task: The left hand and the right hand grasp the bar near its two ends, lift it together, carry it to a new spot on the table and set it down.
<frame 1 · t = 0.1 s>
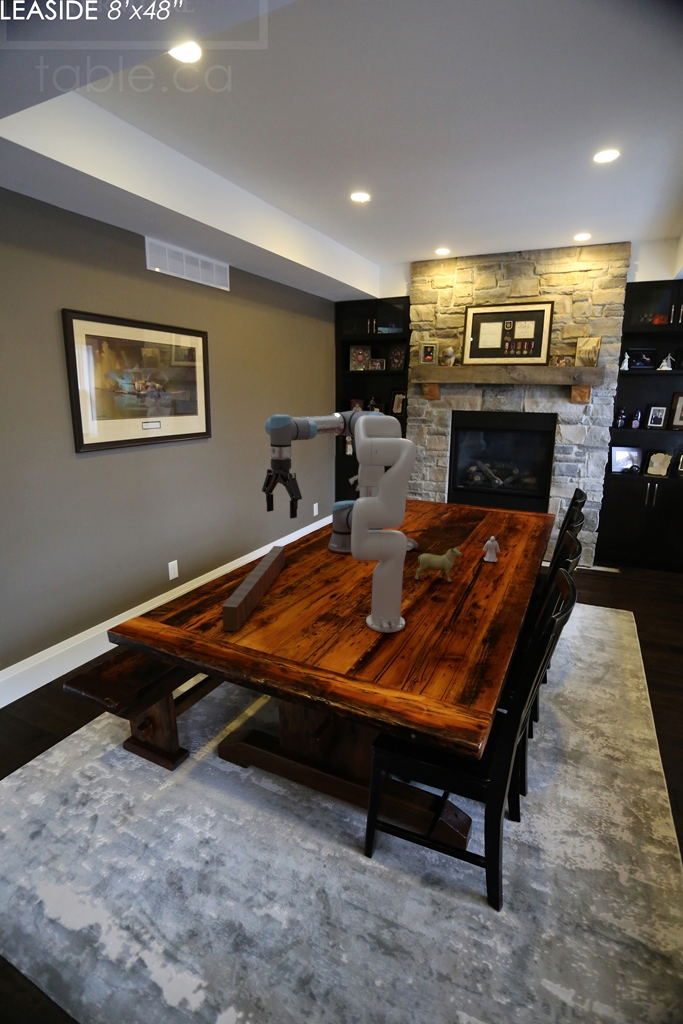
left hand: (281, 514, 187), 28 cm above the table, tool pointing down, fingers open, 13 cm apart
right hand: (370, 500, 199), 31 cm above the table, tool pointing down, fingers open, 9 cm apart
toy: (437, 580, 201), on the table
figurine: (490, 560, 225), on the table
bar: (258, 592, 185), on the table
seashell: (409, 549, 238), on the table
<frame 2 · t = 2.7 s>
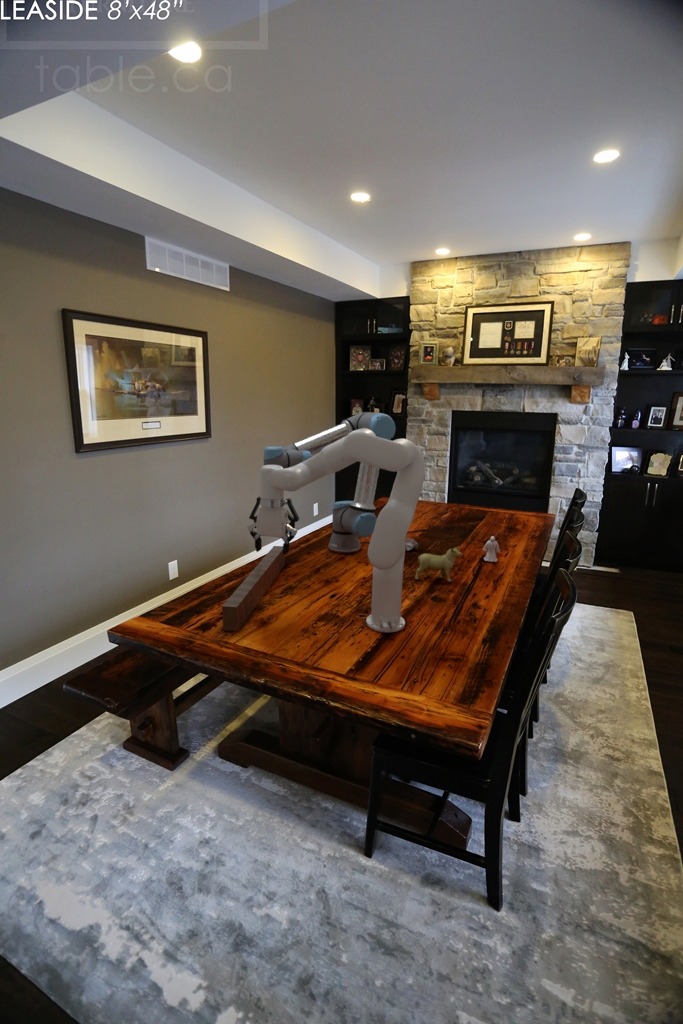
left hand: (274, 536, 204), 15 cm above the table, tool pointing down, fingers open, 13 cm apart
right hand: (272, 552, 169), 20 cm above the table, tool pointing down, fingers open, 9 cm apart
nothing on the table moved.
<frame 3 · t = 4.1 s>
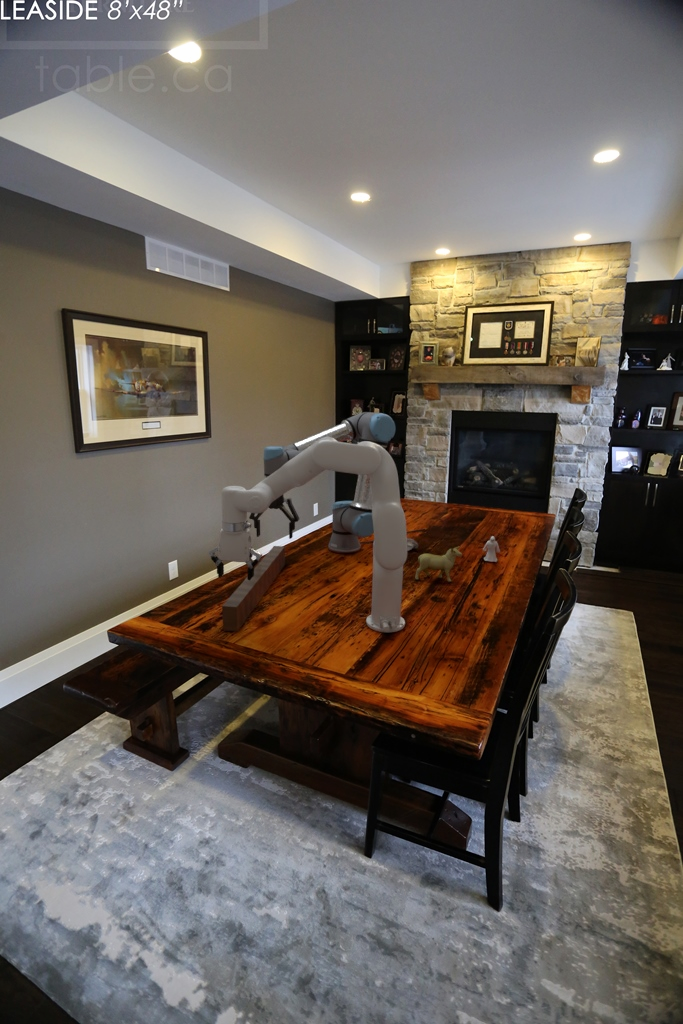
left hand: (274, 536, 204), 15 cm above the table, tool pointing down, fingers open, 13 cm apart
right hand: (235, 577, 160), 15 cm above the table, tool pointing down, fingers open, 9 cm apart
nothing on the table moved.
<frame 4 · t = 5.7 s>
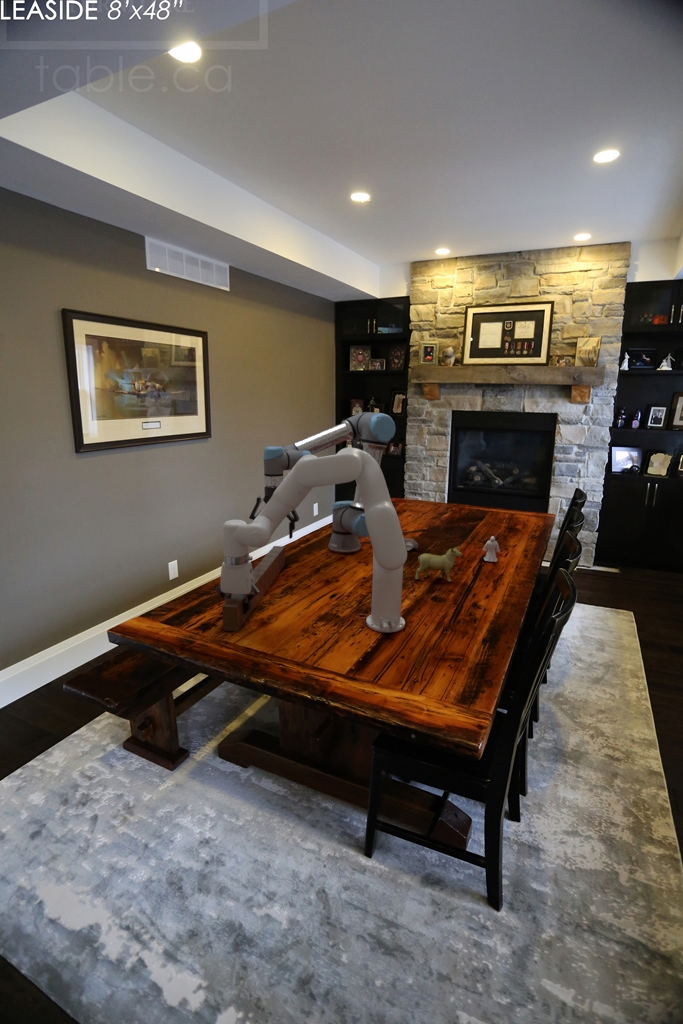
left hand: (274, 536, 204), 15 cm above the table, tool pointing down, fingers open, 13 cm apart
right hand: (238, 611, 162), 3 cm above the table, tool pointing down, fingers closed on bar, 4 cm apart
bar: (258, 592, 185), on the table, touching right hand
everything else where it was.
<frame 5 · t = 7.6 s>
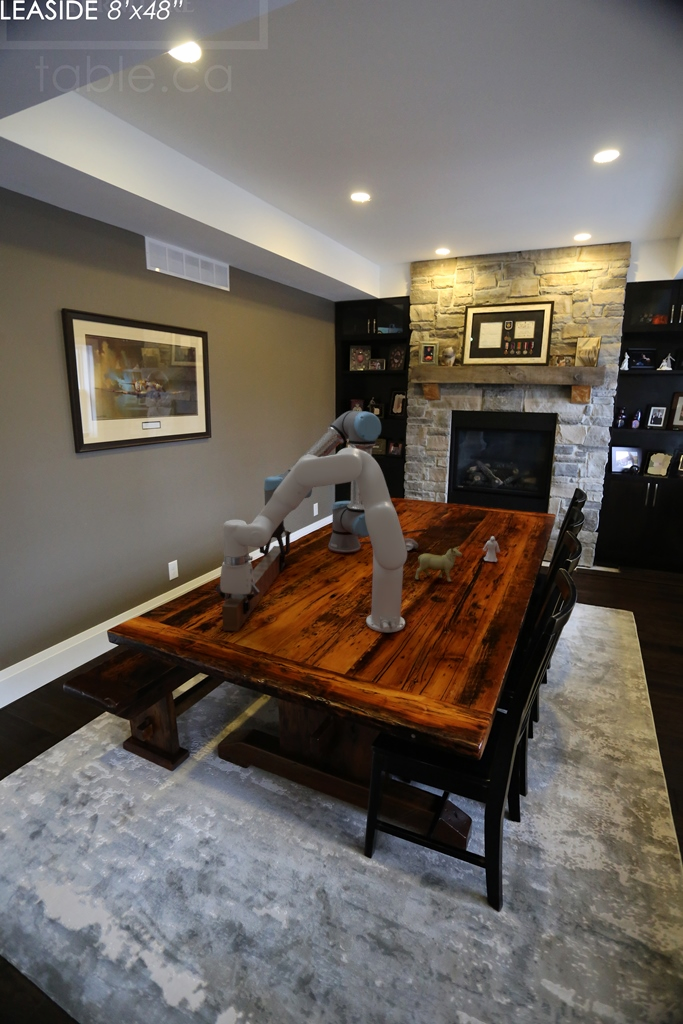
left hand: (275, 569, 207), 1 cm above the table, tool pointing down, fingers closed on bar, 5 cm apart
right hand: (238, 611, 162), 3 cm above the table, tool pointing down, fingers closed on bar, 4 cm apart
bar: (258, 592, 185), on the table, touching right hand, left hand
everything else where it was.
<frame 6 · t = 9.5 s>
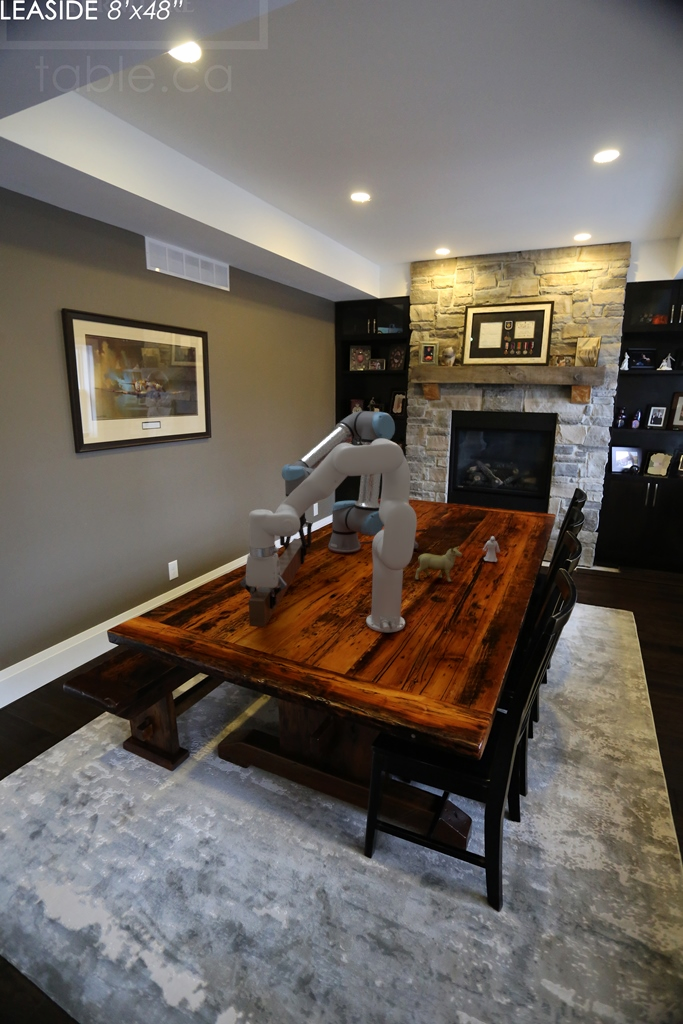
left hand: (296, 562, 200), 6 cm above the table, tool pointing down, fingers closed on bar, 5 cm apart
right hand: (264, 605, 155), 8 cm above the table, tool pointing down, fingers closed on bar, 4 cm apart
bar: (282, 586, 178), point 5 cm above the table, touching right hand, left hand
everything else where it was.
when the left hand's fingers open (2 cm above the table, at t = 11.4 s): bar drops 1 cm, on the table.
when the right hand's fingers open (4 cm above the table, at t = 11.5 s): bar stays where it is, on the table.
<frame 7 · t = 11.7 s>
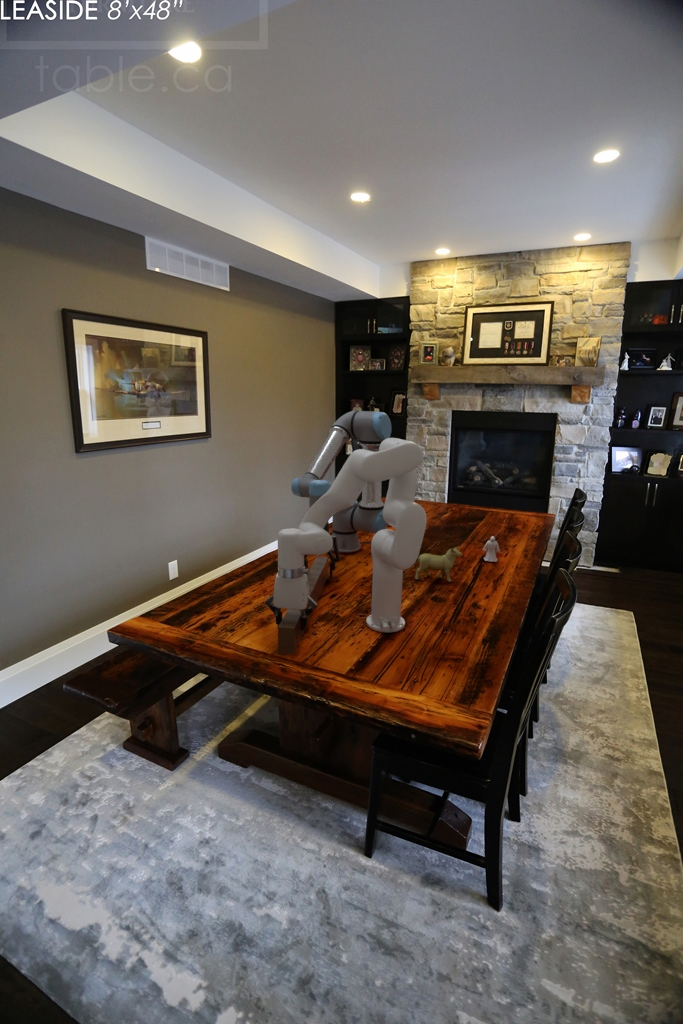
left hand: (318, 577, 194), 3 cm above the table, tool pointing down, fingers open, 9 cm apart
right hand: (291, 626, 149), 5 cm above the table, tool pointing down, fingers open, 6 cm apart
bar: (307, 608, 173), on the table
everything else where it was.
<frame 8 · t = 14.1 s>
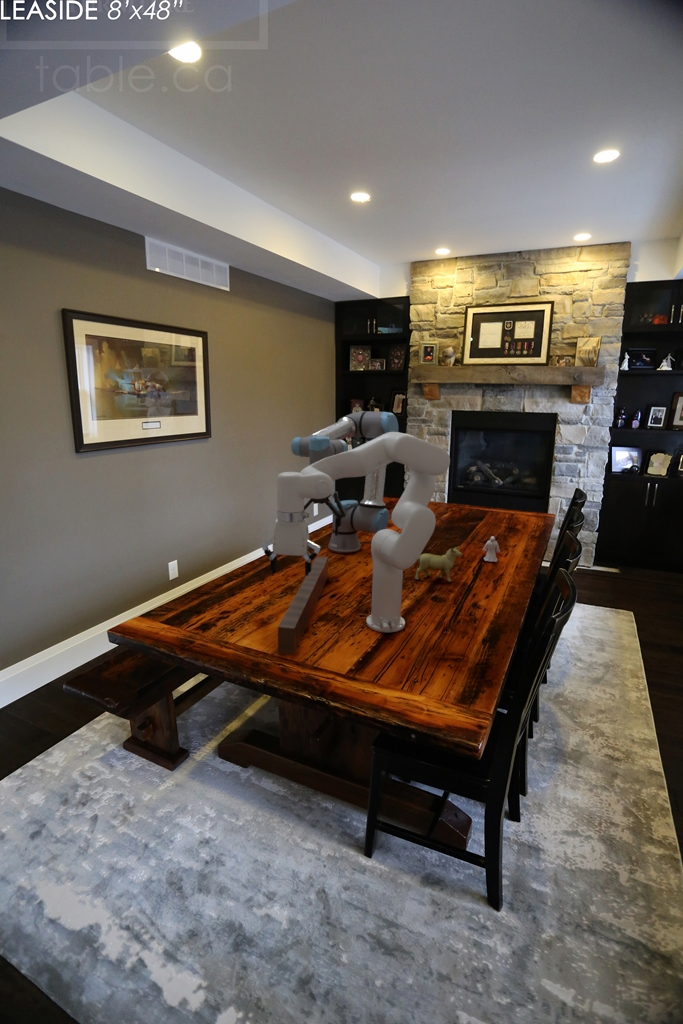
left hand: (318, 533, 190), 20 cm above the table, tool pointing down, fingers open, 13 cm apart
right hand: (291, 572, 145), 22 cm above the table, tool pointing down, fingers open, 9 cm apart
nothing on the table moved.
at the end: bar inside the target area (0.3 cm from its centre), on the table; bar tilted 0°; bar never tilted more than 2° during the clip; both hands held the bar at the same time; the left hand is holding nothing; the right hand is holding nothing; bar at rest at the end (0.0 cm/s) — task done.
